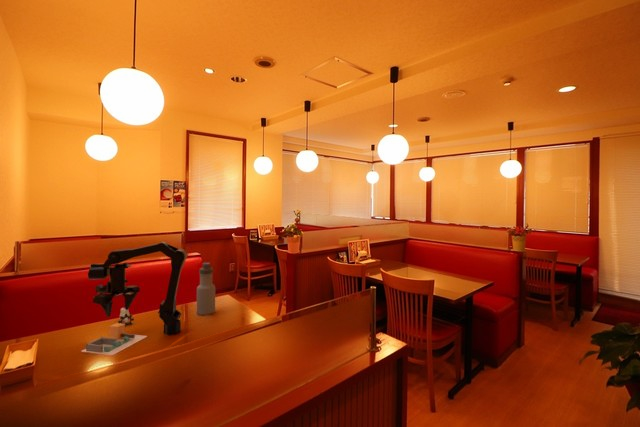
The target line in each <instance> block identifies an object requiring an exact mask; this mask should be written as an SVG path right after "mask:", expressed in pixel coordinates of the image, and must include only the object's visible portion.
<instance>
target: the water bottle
mask: <svg viewBox="0 0 640 427" xmlns="http://www.w3.org/2000/svg"><path fill="white" fill-rule="evenodd" d="M213 271H214V268H213V267H211V262H203V263H202V267H201V268H199V285H198V286H197V287H196V314H197V315H199V316H208V315H209V316H210V315H211V314H214V313H215V312H216V286H215V284H213V273H214V272H213Z"/></svg>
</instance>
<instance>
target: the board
mask: <svg viewBox="0 0 640 427" xmlns="http://www.w3.org/2000/svg"><path fill="white" fill-rule="evenodd" d="M132 335H135V337H134V338H129V341H128V342H126V343H124V344H122V345H120V346H118V347H117V348H115V349H113V350H111V351H109V352H105V351H104V347H105V346H110V347H112V346H113V345H107V344H101V345H103V352H94V351H86V348H85V349H82V350H80V352H82V353H88V354H90V353H91V354H97V355H98V354H99V355H105V356H114V355H116V354H117V353H120V352H121V351H123V350H125V349H127V348H128V347H129V348H130V347H131V346H132V345H135V344H136V343H138V342H139V341H141V340H143V339H145V338H147V337H148V336H147V335H142V334H141V335H140V334H132ZM116 341H121V342H122V341H124V337H122V338H120V339H116Z"/></svg>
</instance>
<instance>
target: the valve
mask: <svg viewBox="0 0 640 427" xmlns="http://www.w3.org/2000/svg"><path fill="white" fill-rule="evenodd" d="M119 319H120V320H117V323H121V324H125V327H126V326H128V325H129V326H130V325H133V322H132V321H135V318H134V317H133V314H130V311H129V309H128V310H125V307H122V308H120V314H119ZM123 322H124V323H123Z"/></svg>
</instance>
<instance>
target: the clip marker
mask: <svg viewBox="0 0 640 427" xmlns="http://www.w3.org/2000/svg"><path fill="white" fill-rule="evenodd" d="M128 341H129V337H124V341H122V342H121V341H115V342H119V346H120V345H122V344H124V343H126V342H128Z"/></svg>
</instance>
